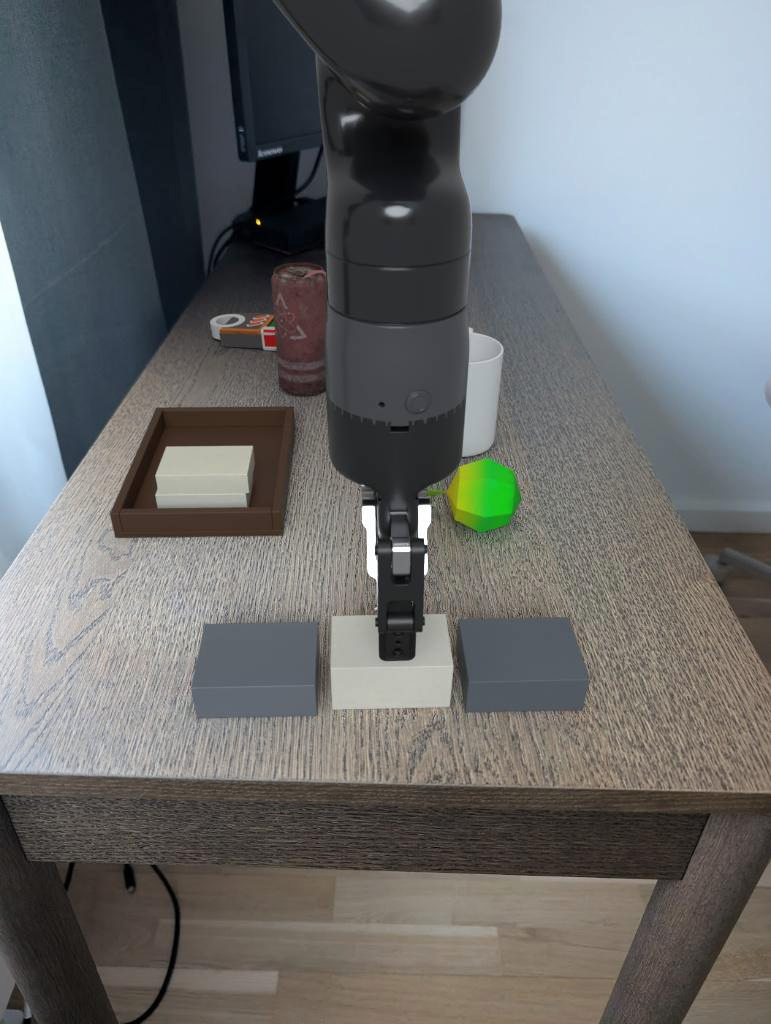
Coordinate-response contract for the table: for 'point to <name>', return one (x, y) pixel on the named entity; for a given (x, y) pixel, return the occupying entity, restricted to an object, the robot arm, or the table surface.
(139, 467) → the tray
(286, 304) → the can
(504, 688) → the pair of grey blocks
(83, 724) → the table surface
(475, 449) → the mug
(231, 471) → the cream layered block
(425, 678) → the cream rectangular block
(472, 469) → the apple
